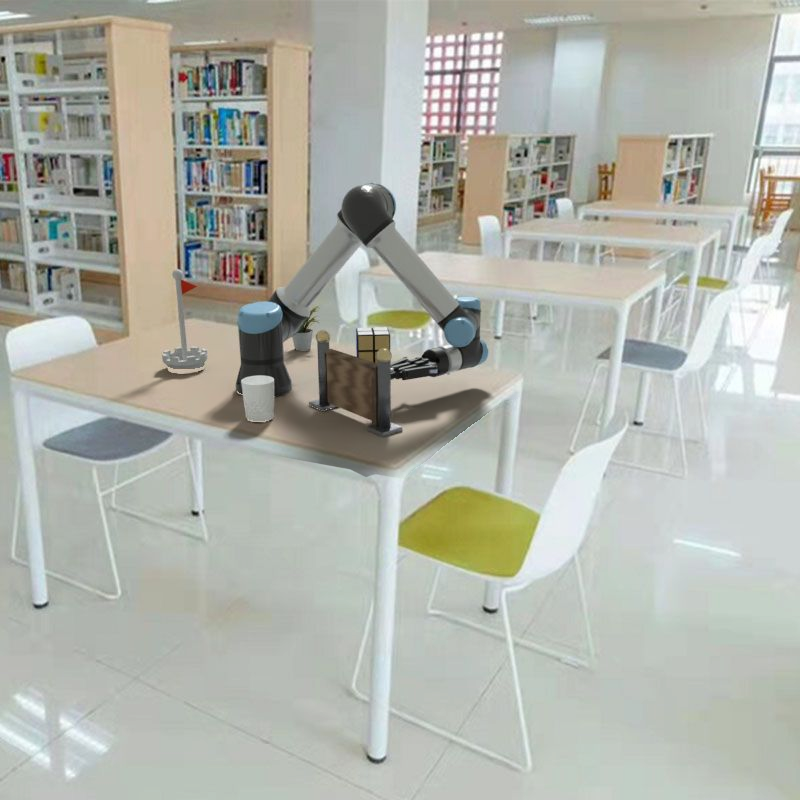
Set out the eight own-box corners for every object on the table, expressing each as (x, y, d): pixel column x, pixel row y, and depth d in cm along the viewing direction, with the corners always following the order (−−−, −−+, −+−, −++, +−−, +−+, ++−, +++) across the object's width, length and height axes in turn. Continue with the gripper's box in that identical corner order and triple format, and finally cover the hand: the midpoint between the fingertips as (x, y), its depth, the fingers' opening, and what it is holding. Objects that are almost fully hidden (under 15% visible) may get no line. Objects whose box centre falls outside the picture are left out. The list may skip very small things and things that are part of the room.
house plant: (326, 354, 246) (325, 304, 241) (283, 356, 245) (280, 305, 239) (324, 343, 260) (323, 296, 255) (283, 345, 258) (281, 297, 253)
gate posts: (309, 405, 199) (306, 330, 192) (327, 400, 202) (325, 326, 196) (382, 436, 177) (382, 353, 171) (402, 430, 181) (402, 348, 175)
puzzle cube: (356, 358, 243) (355, 327, 240) (388, 357, 244) (387, 326, 240) (357, 367, 233) (357, 335, 230) (390, 366, 234) (390, 334, 231)
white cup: (275, 423, 186) (272, 384, 183) (242, 424, 185) (239, 385, 182) (277, 413, 193) (275, 374, 190) (245, 413, 193) (243, 375, 190)
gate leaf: (326, 404, 196) (325, 349, 192) (332, 403, 197) (331, 348, 193) (376, 425, 182) (375, 366, 177) (381, 423, 183) (381, 364, 179)
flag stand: (160, 376, 224) (150, 273, 214) (166, 364, 236) (157, 266, 227) (206, 374, 226) (198, 272, 216) (210, 362, 238) (202, 265, 228)
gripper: (457, 379, 201) (389, 398, 187) (424, 369, 211) (356, 387, 196) (458, 351, 199) (388, 369, 184) (424, 342, 208) (355, 358, 194)
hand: (372, 378), depth 190 cm, fingers closed
